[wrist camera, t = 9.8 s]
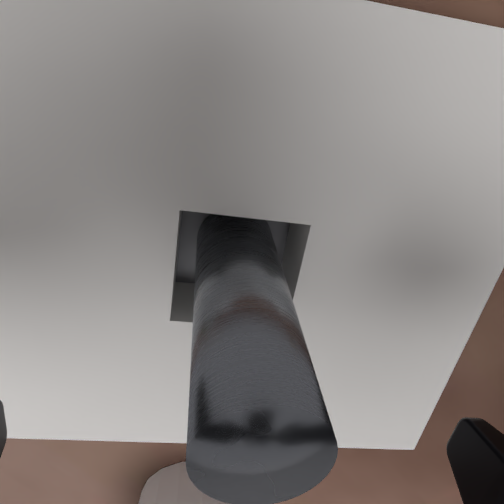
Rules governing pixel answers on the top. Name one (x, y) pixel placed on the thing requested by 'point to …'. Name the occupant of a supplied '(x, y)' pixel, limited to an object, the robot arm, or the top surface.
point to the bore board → (242, 200)
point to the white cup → (173, 488)
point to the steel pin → (251, 374)
